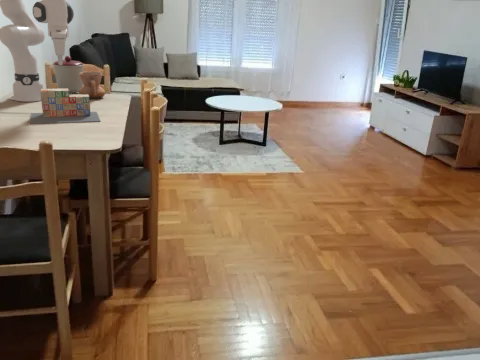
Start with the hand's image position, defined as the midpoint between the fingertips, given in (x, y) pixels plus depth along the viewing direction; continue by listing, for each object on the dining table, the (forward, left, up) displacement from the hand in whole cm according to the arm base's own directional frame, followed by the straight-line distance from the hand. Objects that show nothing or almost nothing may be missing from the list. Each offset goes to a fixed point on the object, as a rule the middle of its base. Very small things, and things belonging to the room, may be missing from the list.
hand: (60, 63), depth 215 cm
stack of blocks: (+4, +1, -24) cm, 24 cm away
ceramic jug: (-40, +16, -24) cm, 49 cm away
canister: (-59, +5, -24) cm, 64 cm away
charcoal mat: (+9, 0, -24) cm, 26 cm away
